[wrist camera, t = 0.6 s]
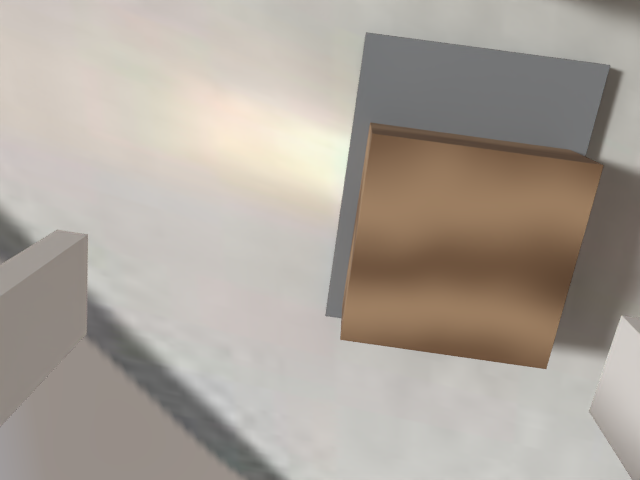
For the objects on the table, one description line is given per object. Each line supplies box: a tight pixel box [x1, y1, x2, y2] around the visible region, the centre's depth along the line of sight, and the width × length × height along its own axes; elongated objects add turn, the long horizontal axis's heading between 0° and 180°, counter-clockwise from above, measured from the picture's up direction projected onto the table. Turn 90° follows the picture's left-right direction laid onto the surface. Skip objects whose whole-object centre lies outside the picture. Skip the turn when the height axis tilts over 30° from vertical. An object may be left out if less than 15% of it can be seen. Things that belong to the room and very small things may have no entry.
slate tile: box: [326, 32, 610, 318], centre depth 37 cm, size 18×14×1 cm
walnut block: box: [340, 123, 604, 369], centre depth 34 cm, size 12×12×5 cm
